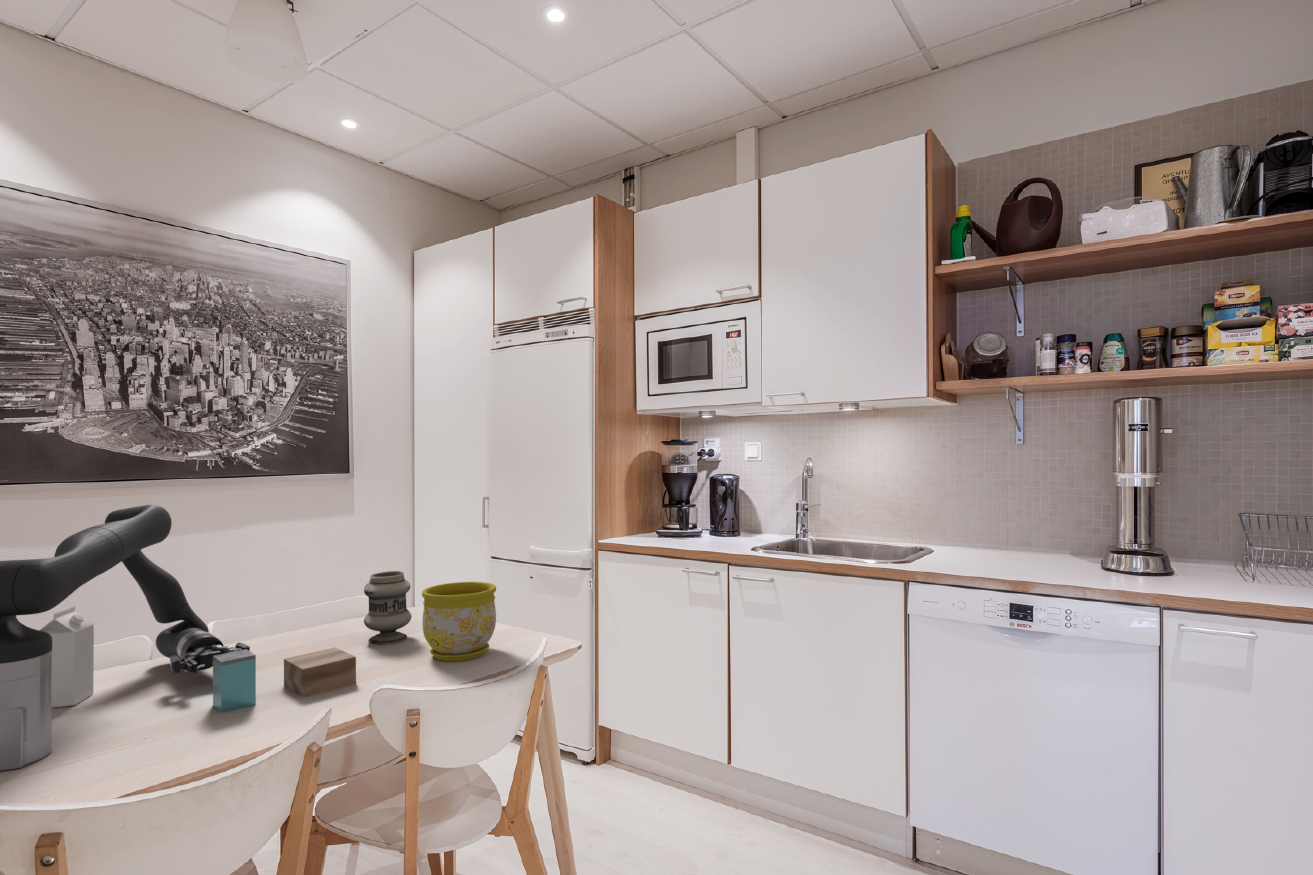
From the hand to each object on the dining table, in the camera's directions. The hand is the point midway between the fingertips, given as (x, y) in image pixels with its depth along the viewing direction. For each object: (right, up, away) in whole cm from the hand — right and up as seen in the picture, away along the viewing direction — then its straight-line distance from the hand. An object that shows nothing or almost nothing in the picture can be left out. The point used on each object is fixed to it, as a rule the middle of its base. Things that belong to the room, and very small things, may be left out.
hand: (219, 663), depth 142 cm
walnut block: (+19, -6, +4) cm, 21 cm away
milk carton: (-29, -7, -5) cm, 30 cm away
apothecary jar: (+20, -7, +39) cm, 44 cm away
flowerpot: (+44, -6, +25) cm, 51 cm away
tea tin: (+8, -6, -8) cm, 12 cm away
